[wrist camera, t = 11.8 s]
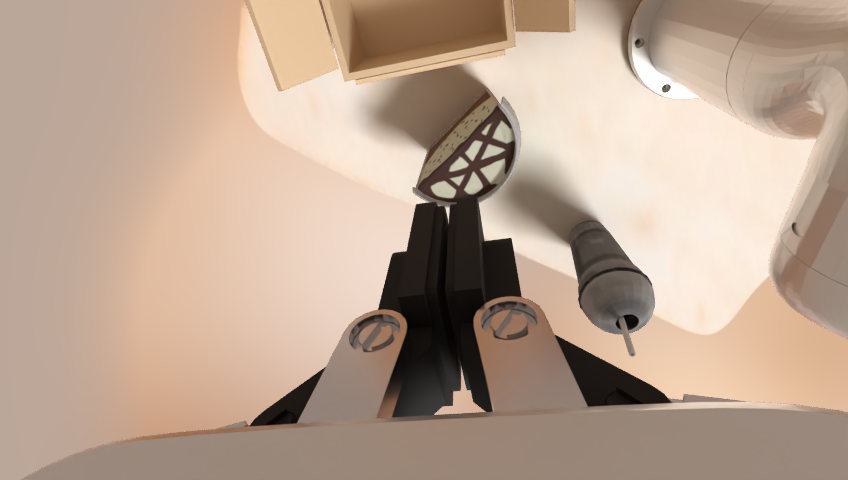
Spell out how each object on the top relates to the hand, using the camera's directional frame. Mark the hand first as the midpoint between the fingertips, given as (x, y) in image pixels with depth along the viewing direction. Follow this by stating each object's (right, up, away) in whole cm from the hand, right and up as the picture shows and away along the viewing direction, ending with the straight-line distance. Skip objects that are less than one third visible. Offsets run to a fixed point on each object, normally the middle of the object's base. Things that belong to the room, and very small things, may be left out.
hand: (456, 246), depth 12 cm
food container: (+5, +12, +37) cm, 39 cm away
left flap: (-11, +19, +20) cm, 30 cm away
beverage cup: (+20, +1, +42) cm, 46 cm away
